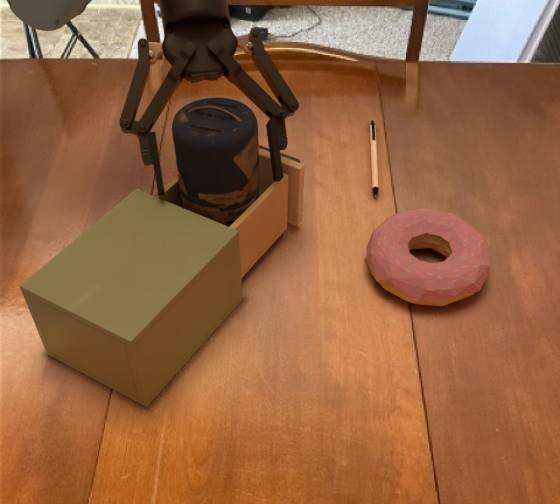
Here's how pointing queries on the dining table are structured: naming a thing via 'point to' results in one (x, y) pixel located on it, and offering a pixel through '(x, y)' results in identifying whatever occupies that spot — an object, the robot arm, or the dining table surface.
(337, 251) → the dining table surface
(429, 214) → the donut
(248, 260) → the drawer
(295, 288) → the dining table surface
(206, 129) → the canister
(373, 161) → the pen
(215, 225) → the cabinet
